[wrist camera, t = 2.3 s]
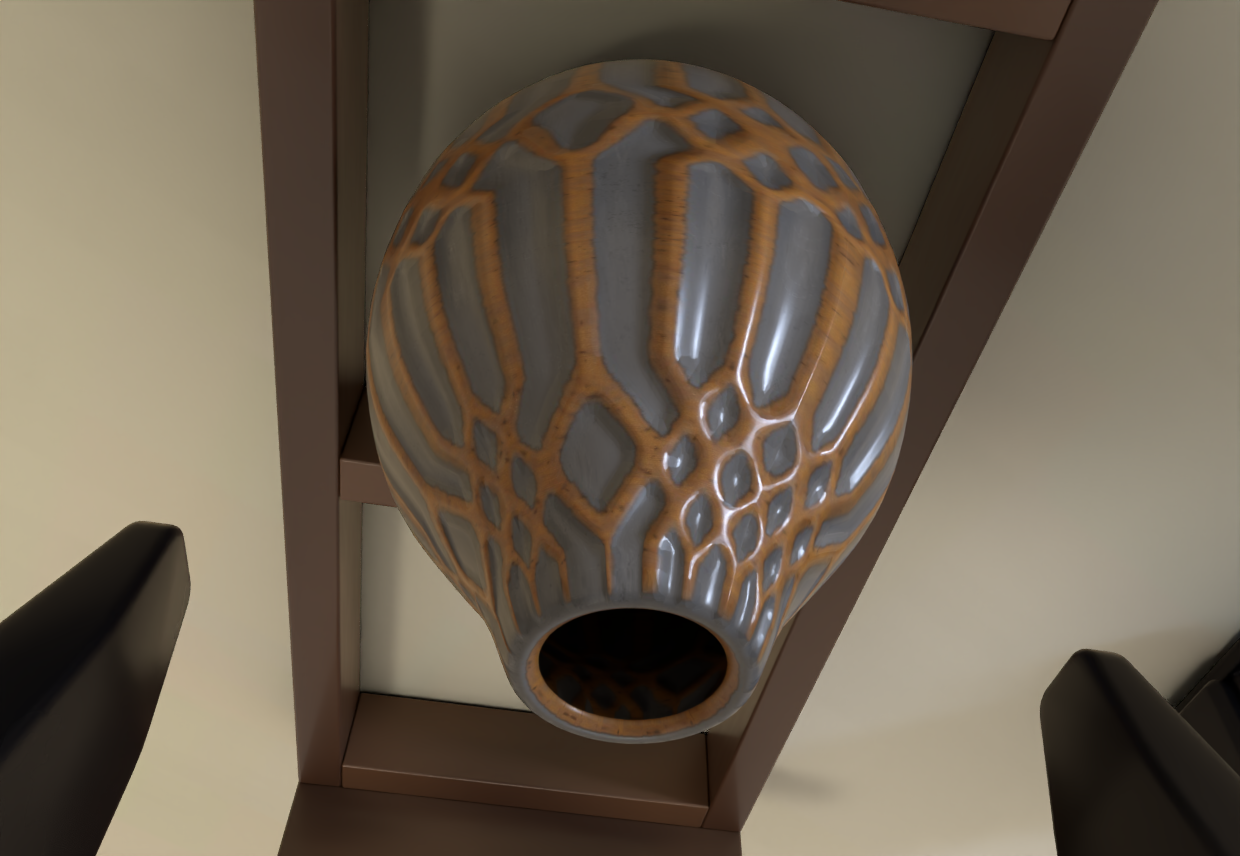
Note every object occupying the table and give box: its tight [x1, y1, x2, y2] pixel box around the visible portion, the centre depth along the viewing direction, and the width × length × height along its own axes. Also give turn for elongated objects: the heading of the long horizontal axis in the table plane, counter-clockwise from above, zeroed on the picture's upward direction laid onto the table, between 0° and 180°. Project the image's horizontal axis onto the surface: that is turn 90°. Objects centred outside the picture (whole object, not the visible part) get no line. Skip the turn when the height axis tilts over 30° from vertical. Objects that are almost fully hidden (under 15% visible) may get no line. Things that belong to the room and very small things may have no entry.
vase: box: [366, 59, 912, 744], centre depth 13 cm, size 7×7×9 cm
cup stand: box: [253, 0, 1159, 856], centre depth 17 cm, size 11×21×7 cm, turn 170°
